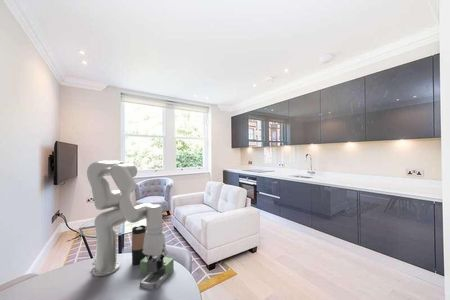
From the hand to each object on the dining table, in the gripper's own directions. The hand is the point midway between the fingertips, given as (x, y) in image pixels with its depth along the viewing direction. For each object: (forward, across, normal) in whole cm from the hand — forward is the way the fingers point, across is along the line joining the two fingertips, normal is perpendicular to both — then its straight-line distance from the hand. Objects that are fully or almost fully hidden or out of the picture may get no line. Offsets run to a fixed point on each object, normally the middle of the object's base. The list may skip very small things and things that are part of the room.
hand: (155, 267), depth 93 cm
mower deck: (+7, -5, +3) cm, 9 cm away
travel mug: (+7, -21, +13) cm, 25 cm away
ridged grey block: (0, 0, 0) cm, 0 cm away
